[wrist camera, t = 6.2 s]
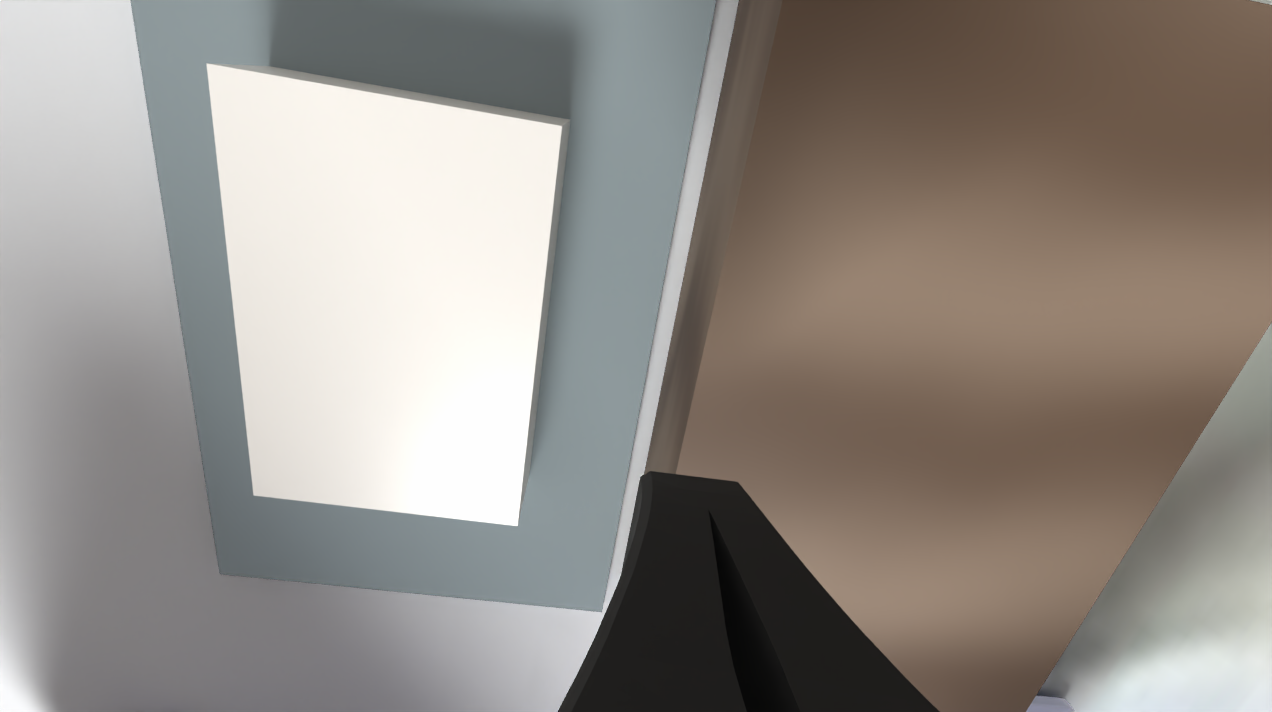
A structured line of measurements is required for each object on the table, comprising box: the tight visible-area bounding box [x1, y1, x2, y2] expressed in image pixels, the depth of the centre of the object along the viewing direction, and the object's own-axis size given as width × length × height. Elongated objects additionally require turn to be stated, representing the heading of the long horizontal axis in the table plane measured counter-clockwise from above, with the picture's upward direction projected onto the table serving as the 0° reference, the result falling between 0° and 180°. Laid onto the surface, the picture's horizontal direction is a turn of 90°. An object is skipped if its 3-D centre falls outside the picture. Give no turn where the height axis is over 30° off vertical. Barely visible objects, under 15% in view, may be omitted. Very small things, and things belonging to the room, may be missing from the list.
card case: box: [206, 63, 570, 526], centre depth 13 cm, size 9×6×2 cm, turn 170°
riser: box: [644, 0, 1272, 712], centre depth 14 cm, size 16×10×4 cm, turn 171°
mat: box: [131, 0, 716, 612], centre depth 14 cm, size 18×11×1 cm, turn 171°
